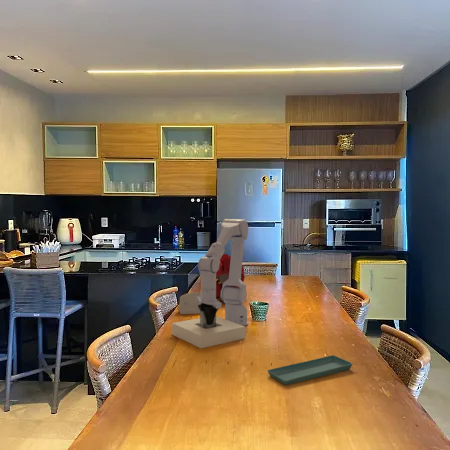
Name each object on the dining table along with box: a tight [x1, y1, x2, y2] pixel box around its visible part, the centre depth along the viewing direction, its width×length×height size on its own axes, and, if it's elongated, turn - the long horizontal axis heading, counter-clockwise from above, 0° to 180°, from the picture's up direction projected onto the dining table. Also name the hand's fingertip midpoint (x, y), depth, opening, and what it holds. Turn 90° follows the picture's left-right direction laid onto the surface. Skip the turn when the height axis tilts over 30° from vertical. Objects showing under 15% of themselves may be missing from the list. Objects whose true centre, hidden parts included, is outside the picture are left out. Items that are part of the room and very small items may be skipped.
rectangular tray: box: [267, 354, 354, 386], centre depth 137 cm, size 26×9×2 cm, turn 119°
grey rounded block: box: [178, 291, 201, 315], centre depth 211 cm, size 17×5×10 cm, turn 102°
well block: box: [171, 315, 246, 349], centre depth 172 cm, size 20×20×4 cm
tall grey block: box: [199, 310, 217, 329], centre depth 172 cm, size 6×6×10 cm
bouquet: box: [216, 253, 245, 304], centre depth 240 cm, size 22×24×30 cm
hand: (208, 323), depth 172 cm, fingers closed on tall grey block, 2 cm apart
